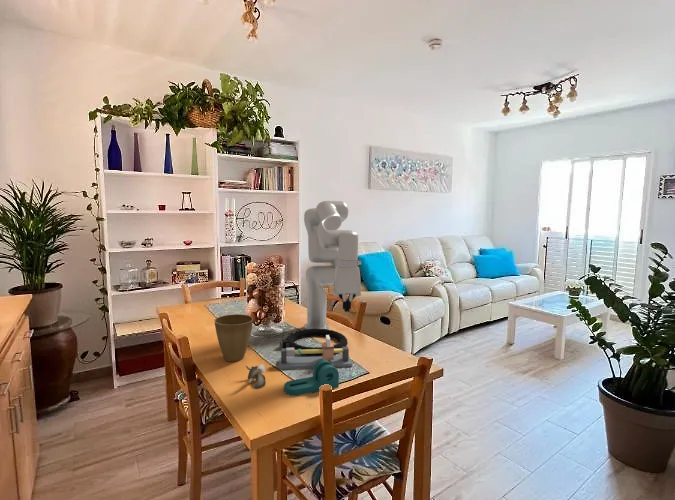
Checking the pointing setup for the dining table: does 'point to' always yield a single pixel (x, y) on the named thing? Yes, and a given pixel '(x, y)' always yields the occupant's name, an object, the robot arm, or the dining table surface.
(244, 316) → the plant pot
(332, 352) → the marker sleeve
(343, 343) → the cable lock
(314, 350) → the linear slide rail
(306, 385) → the bracket
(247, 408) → the dining table surface
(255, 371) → the grey furry figure
